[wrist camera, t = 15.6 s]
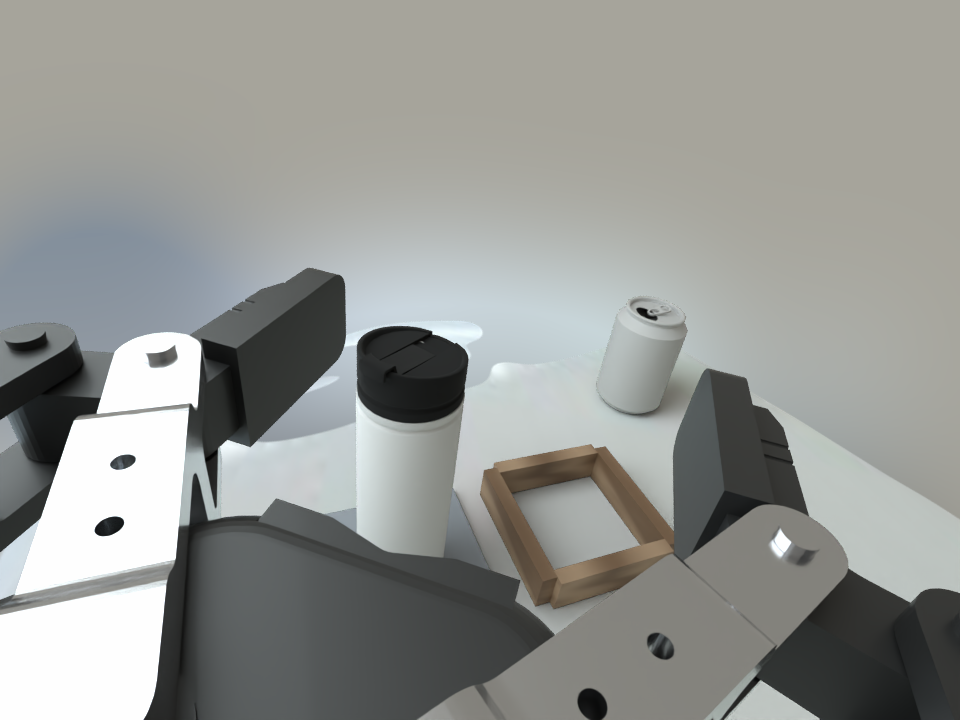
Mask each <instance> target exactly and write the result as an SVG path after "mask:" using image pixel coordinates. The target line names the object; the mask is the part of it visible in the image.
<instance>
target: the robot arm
mask: <svg viewBox="0 0 960 720" xmlns="http://www.w3.org/2000/svg"><path fill="white" fill-rule="evenodd" d="M345 339H346V314H345V283H344V279H343V278H342V276H340V275H336V274H333V273H329V272H325V271H321V270H317V269H313V268H307V269H305V270H303V271H302V272H300V273H299V274H297V275H296V276H294V277H293V278H291V279H290V280H288V281H287V282H286V283H280V284H277V285H274V286H271V287H268V288H264V289H261V290H259V291H258V292H257V293H255V294H254V295H252V296H250V297H249V298H247V299H246V300H245V302H241V303H239V304H238V305H236V306H234V307H233V308H232V311H231V310H228V311H227V312H225V313H224V314H222V315H220V316H219V317H217V318H216V319H214V320H213V321H211V322H209V323H208V324H207V325H205V326H203V327H202V328H200V329H198V330H197V331H195V332H194V333H192V334H191V335H185V334H181V333H171V332H168V333H155V334H149V335H145V336H141V337H138V338H135V339H133V340H131V341H129V342H127V343H125V344H124V345H122V346H121V347H120V348H119V349H118V350H117V351H116V352H115V353H108V352H93V351H81V350H80V347H79V344H78V341H77V338H76V335H75V332H74V331H73V330H72V329H71V328H69V327H68V326H65V325H61V324H56V323H31V324H24V325H19V326H15V327H11V328H8V329H5V330H2V331H0V420H1V419H2V418H4V417H5V416H8V418H9V421H10V423H11V425H12V428H13V430H14V432H15V434H16V436H17V438H18V442H17V443H15V444H14V445H12V446H11V447H9V448H8V449H7V450H5V451H4V452H2V453H1V454H0V552H1V551H2V550H3V549H5V548H6V547H7V546H8V545H9V544H11V543H12V542H13V541H14V540H15V539H17V538H18V537H19V536H20V535H21V534H22V533H24V532H25V531H26V530H27V529H28V528H30V527H31V526H32V525H33V524H34V523H36V522H37V521H38V520H39V519H40V518H41V520H40V523H39V526H38V529H37V532H36V535H35V538H34V541H33V544H32V547H31V550H30V553H29V555H28V558H27V561H26V564H25V567H24V570H23V573H22V576H21V579H20V582H19V585H18V588H17V590H16V593H15V594H14V595H11V596H9V597H6V598H4V599H1V600H0V720H726V719H727V718H728V717H729V716H730V715H731V714H732V713H733V712H734V711H735V710H736V708H737V707H738V706H739V705H740V704H741V703H742V702H743V701H744V700H745V699H746V697H747V696H748V695H749V694H750V693H751V692H752V691H753V690H754V689H755V688H756V687H757V685H758V684H759V683H760V682H761V681H763V682H765V683H766V684H768V685H769V686H771V687H772V688H774V689H775V690H777V691H778V692H780V693H782V694H783V695H785V696H786V697H788V698H789V699H791V700H792V701H794V702H795V703H797V704H798V705H800V706H801V707H803V708H805V709H806V710H808V711H809V712H811V713H812V714H814V715H815V716H817V717H818V718H820V720H960V593H958V592H954V591H950V590H946V589H928V590H925V591H923V592H921V593H920V594H919V595H918V596H917V597H916V598H915V599H914V600H913V601H912V602H911V603H910V602H908V601H906V600H904V599H902V598H900V597H898V596H896V595H895V594H893V593H891V592H889V591H887V590H885V589H883V588H881V587H879V586H878V585H876V584H874V583H872V582H870V581H868V580H866V579H864V578H863V577H861V576H859V575H858V574H856V573H854V572H853V571H851V570H850V569H849V568H848V559H847V556H846V553H845V551H844V549H843V548H842V546H841V545H840V543H839V542H838V540H837V539H836V538H835V537H834V536H833V535H832V534H831V533H830V532H829V531H828V530H827V529H826V528H825V527H824V526H822V525H821V524H820V523H818V522H817V521H815V520H814V519H812V518H811V517H809V515H808V511H807V508H806V504H805V501H804V497H803V494H802V490H801V487H800V484H799V480H798V477H797V473H796V470H795V466H793V465H792V464H793V460H792V456H791V453H790V450H788V447H789V446H788V442H787V439H786V435H785V432H784V429H783V427H782V426H781V424H780V423H779V422H778V421H777V420H776V418H775V417H774V416H773V415H772V414H771V413H770V411H769V410H768V409H766V408H762V407H758V406H755V405H753V404H752V400H751V395H750V391H749V387H748V382H747V379H746V378H744V377H740V376H736V375H732V374H728V373H724V372H720V371H716V370H712V369H706V370H705V371H704V372H703V374H702V376H701V378H700V380H699V382H698V385H697V387H696V389H695V392H694V394H693V397H692V399H691V401H690V404H689V406H688V408H687V411H686V413H685V415H684V418H683V420H682V423H681V425H680V427H679V430H678V433H677V437H676V440H675V445H674V451H673V493H674V554H670V555H668V556H666V557H664V558H662V559H661V560H659V561H658V562H657V563H655V564H654V565H652V566H651V567H650V568H648V569H647V570H645V571H644V572H643V573H641V574H640V575H638V576H637V577H636V578H634V579H633V580H631V581H630V582H629V583H627V584H626V585H624V586H623V587H622V588H620V589H619V590H617V591H616V592H615V593H613V594H612V595H610V596H609V597H608V598H606V599H605V600H603V601H602V602H601V603H599V604H598V605H596V606H595V607H594V608H592V609H591V610H589V611H588V612H587V613H585V614H584V615H583V616H581V617H580V618H578V619H577V620H576V621H574V622H573V623H571V624H570V625H569V626H567V627H566V628H564V629H563V630H562V631H560V632H559V633H557V634H556V635H555V634H554V633H553V632H552V631H551V630H550V629H549V628H548V627H547V626H546V625H545V624H544V623H543V622H542V621H541V620H540V619H539V618H538V617H536V616H535V615H534V614H533V613H531V612H530V611H529V610H528V609H526V608H525V607H523V606H522V605H520V604H519V603H517V602H516V601H515V599H516V595H517V591H518V587H519V584H520V580H517V579H514V578H511V577H508V576H505V575H502V574H499V573H496V572H493V571H490V570H487V569H485V568H482V567H479V566H476V565H473V564H470V563H467V562H464V561H461V560H458V559H451V558H441V557H431V556H421V555H411V554H401V553H392V552H387V551H384V550H382V549H380V548H379V547H377V546H376V545H374V544H373V543H371V542H370V541H368V540H367V539H365V538H363V537H362V536H360V535H359V534H357V533H356V532H354V531H353V530H351V529H350V528H348V527H347V526H345V525H344V524H342V523H340V522H339V521H337V520H336V519H334V518H333V517H330V516H327V515H324V514H321V513H318V512H315V511H312V510H309V509H306V508H303V507H300V506H297V505H294V504H291V503H288V502H285V501H282V500H280V499H277V498H276V499H275V501H274V502H273V503H272V504H271V505H270V507H269V508H268V509H267V510H266V511H265V513H264V514H263V515H262V516H234V517H224V518H221V471H222V457H221V451H220V446H221V445H222V444H223V443H224V442H225V441H226V440H230V441H233V442H236V443H239V444H243V445H246V446H249V447H251V446H252V445H253V444H254V443H255V442H256V441H257V440H258V439H259V438H260V437H261V436H262V435H263V434H264V433H265V432H266V431H267V430H268V429H269V428H270V427H271V426H272V425H273V424H274V423H275V422H276V421H277V420H278V419H279V418H280V417H281V416H282V415H283V414H284V413H285V412H286V411H287V410H288V409H289V408H290V407H291V406H292V405H293V404H294V403H295V402H296V401H297V400H298V399H299V398H300V397H301V396H302V395H303V394H304V393H305V392H306V391H307V390H308V389H309V388H310V387H311V386H312V385H313V384H314V383H315V382H316V381H317V380H318V379H319V378H320V377H321V376H322V375H323V374H324V373H325V372H326V371H327V370H328V369H329V368H330V367H331V366H332V365H333V364H334V363H335V362H336V361H337V360H338V358H339V357H340V355H341V353H342V351H343V348H344V344H345Z"/></svg>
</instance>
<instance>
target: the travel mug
mask: <svg viewBox="0 0 960 720" xmlns="http://www.w3.org/2000/svg"><path fill="white" fill-rule="evenodd" d="M467 367H468V355H467V353H466V351H465V349H463V348H462V347H461V346H460V345H458V344H457V343H455V344H454V343H453V342H451V341H449V340H447V339H445V338H443V337H440V336H437V335H432V331H429V330H426V329H422V328H418V327H410V326H390V327H383V328H379V329H375V330H372V331H370V332H368V333H366V334H365V335H363V336H362V337H361V338H360V340H359V341H358V344H357V378H358V379H357V387H356V398H357V400H356V487H357V534H359V535H360V536H362V537H363V538H365V539H367V540H368V541H370V542H371V543H373V544H374V545H376V546H377V547H379V548H380V549H382V550H384V551H387V552H392V553H401V554H411V555H421V556H431V557H441V558H443V556H444V549H445V541H446V534H447V526H448V518H449V511H450V503H451V496H452V488H453V481H454V473H455V465H456V458H457V450H458V443H459V435H460V428H461V420H462V413H463V403H464V397H465V392H464V390H465V381H466V374H467Z"/></svg>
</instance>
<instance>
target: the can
mask: <svg viewBox="0 0 960 720" xmlns="http://www.w3.org/2000/svg"><path fill="white" fill-rule="evenodd" d="M685 319H686V316H685V314H684V312H683V311H682V310H681V309H680V308H679V307H677V306H676V305H674V304H672V303H670V302H668V301H665V300H662V299H658V298H655V297H648V296H638V297H633V298H631V299H629V300H628V301H627V303H626V306H625V307H623V308H621V309H620V310H619V311H618V313H617V316H616V319H615V322H614V325H613V329H612V332H611V335H610V339H609V342H608V346H607V349H606V352H605V356H604V359H603V362H602V366H601V369H600V373H599V376H598V379H597V383H596V387H597V391H598V393H599V394H600V396H601V397H602V398H603V400H604V401H605V402H606V403H607V404H608V405H609V406H611V407H613V408H614V409H616V410H618V411H621V412H624V413H629V414H642V413H646V412H649V411H653V410H655V409H656V408H657V407H659V405H660V402H661V399H662V397H663V394H664V392H665V389H666V386H667V384H668V381H669V379H670V376H671V373H672V371H673V368H674V366H675V363H676V360H677V358H678V355H679V353H680V350H681V347H682V345H683V342H684V340H685V337H686V333H687V328H686V325H685V324H684V322H685Z"/></svg>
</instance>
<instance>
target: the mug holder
mask: <svg viewBox="0 0 960 720" xmlns="http://www.w3.org/2000/svg"><path fill="white" fill-rule="evenodd" d="M588 476H591V478H592V479H593V480H594V482H595V483H596V484H597V486H598V487H599V489H600V490H601V491H602V493H603V494H604V495H605V497H606V498H607V500H608V501H609V502H610V504H611V505H612V506H613V508H614V509H615V511H616V512H617V513H618V515H619V516H620V517H621V519H622V520H623V522H624V523H625V524H626V526H627V527H628V528H629V530H630V531H631V533H632V534H633V535H634V537H635V538H636V539H637V541H638V542H639V544H640V545H641V546H637V547H633V548H630V549H626V550H623V551H619V552H616V553H612V554H609V555H605V556H602V557H598V558H595V559H591V560H588V561H584V562H581V563H577V564H573V565H570V566H566V567H563V568H559V569H556V570H553V568H552V566H551V564H550V562H549V561H548V559H547V557H546V555H545V553H544V552H543V550H542V548H541V546H540V544H539V542H538V541H537V539H536V537H535V535H534V533H533V532H532V530H531V528H530V526H529V524H528V523H527V521H526V519H525V517H524V515H523V514H522V512H521V510H520V508H519V506H518V505H517V503H516V501H515V499H514V497H513V496H512V494H511V493H514V492H519V491H523V490H528V489H533V488H537V487H542V486H546V485H551V484H556V483H560V482H565V481H569V480H574V479H579V478H583V477H588ZM480 495H481V497H482V499H483V501H484V503H485V505H486V508H487V510H488V512H489V514H490V516H491V518H492V520H493V522H494V524H495V526H496V528H497V530H498V532H499V534H500V536H501V538H502V540H503V542H504V544H505V546H506V548H507V550H508V552H509V554H510V556H511V558H512V560H513V562H514V564H515V566H516V568H517V570H518V572H519V574H520V576H521V578H522V580H523V582H524V584H525V586H526V588H527V590H528V592H529V594H530V597H531V599H532V601H533V603H534V605H535V606H538V605H541V604H544V603H548V602H550V604H551V605H552V607H553V609H555V608H558V607H562V606H565V605H568V604H571V603H574V602H578V601H581V600H584V599H587V598H590V597H593V596H597V595H600V594H603V593H606V592H609V591H613V590H616V589H619V588H622V587H623V586H624V585H626V584H627V583H629V582H630V581H631V580H633V579H634V578H636V577H637V576H638V575H640V574H641V573H643V572H644V571H645V570H647V569H648V568H650V567H651V566H652V565H654V564H655V563H657V562H658V561H659V560H661V559H662V558H664V557H666V556H668V555H670V554H674V531H673V530H672V529H671V528H670V526H669V525H668V524H667V523H666V521H665V520H664V519H663V518H662V516H661V515H660V514H659V513H658V512H657V510H656V509H655V508H654V507H653V505H652V504H651V503H650V502H649V500H648V499H647V498H646V497H645V495H644V494H643V493H642V492H641V490H640V489H639V488H638V487H637V485H636V484H635V483H634V482H633V480H632V479H631V478H630V477H629V475H628V474H627V473H626V472H625V470H624V469H623V468H622V467H621V465H620V464H619V463H618V462H617V460H616V459H615V458H614V457H613V455H612V454H611V453H610V452H609V450H608V449H607V448H606V447H600V448H595V449H594V447H593V446H592V445H591V444H590V445H585V446H580V447H574V448H569V449H564V450H559V451H554V452H548V453H543V454H538V455H533V456H527V457H522V458H517V459H512V460H507V461H501V462H496V463H494V467H493V468H492V469H487V470H484V474H483V480H482V486H481V491H480Z"/></svg>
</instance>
